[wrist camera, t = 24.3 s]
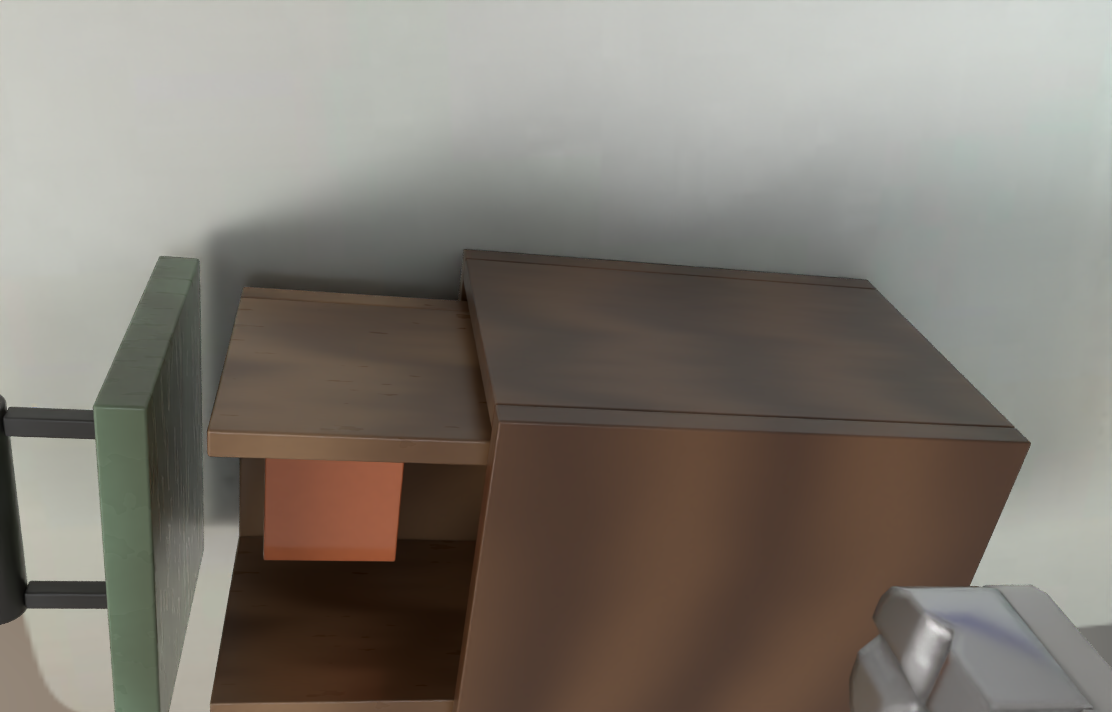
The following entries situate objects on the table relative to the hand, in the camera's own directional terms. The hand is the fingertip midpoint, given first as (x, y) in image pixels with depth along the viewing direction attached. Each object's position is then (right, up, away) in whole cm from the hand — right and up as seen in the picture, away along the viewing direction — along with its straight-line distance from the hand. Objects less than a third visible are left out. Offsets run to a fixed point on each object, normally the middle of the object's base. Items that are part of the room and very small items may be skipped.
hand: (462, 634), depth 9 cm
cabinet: (+4, 0, +29) cm, 29 cm away
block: (-6, 0, +25) cm, 26 cm away
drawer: (-8, 0, +26) cm, 27 cm away
